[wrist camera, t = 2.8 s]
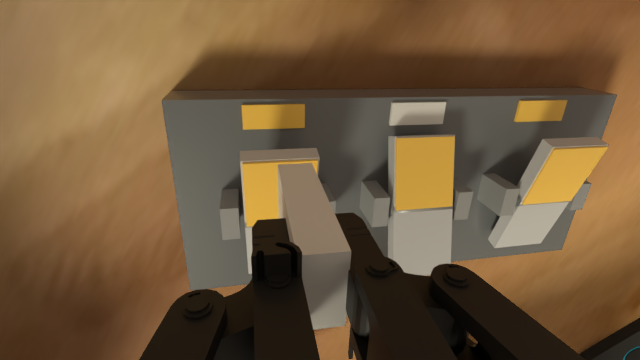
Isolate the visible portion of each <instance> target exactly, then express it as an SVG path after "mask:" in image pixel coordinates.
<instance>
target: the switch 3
mask: <svg viewBox="0 0 640 360" xmlns="http://www.w3.org/2000/svg"><path fill="white" fill-rule="evenodd" d="M608 145H609V144H607V143H606V142H604V141H603V140H601V139H600V138H598V137H580V138H554V139H542V141H541V143H540V145H539V147H538V148H537V150H536V152H535V154H534V156H533V158H532V159H531V161H530V163H529V165H528V167H527V169H526V170H525V172H524V174H523V176H522V178H521V180H520V181H519V183H518V185H517V187H518V188H520V191H519V194H518V198H517V202H516V205H515V209H514V212H513V215H510V216H500V218H499V220H498V222H497V223H496V225H495V227H494V229H493V231H492V233H491V234H490V236H489V238H488V240H489V241H490V243H491V244H492V245H493V247H494V248H501V247H511V246H520V245H530V244H539V243H541V242H542V241H543V239H544V238H545V236H546V235H547V233H548V232H549V231H550V229H551V228H552V226H553V225H554V223H555V222H556V220H557V219H558V218H559V216H560V215H561V213H562V212H563V210H564V209H565V207H566V206H567V204H568V203H569V202H570V201H571V200H572V199H573V197H574V196H575V194H576V193H577V192H578V190H579V189H580V187H581V186H582V184H583V183H584V181H585V180H586V179H587V177H588V176H589V174H590V173H591V171H592V170H593V168H594V167H595V166H596V164H597V163H598V161H599V160H600V158H601V157H602V155H603V154H604V153H605V151H606V150H607V148H608V147H607V146H608Z"/></svg>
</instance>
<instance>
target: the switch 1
mask: <svg viewBox="0 0 640 360" xmlns="http://www.w3.org/2000/svg"><path fill="white" fill-rule="evenodd" d="M319 160H320V157H319V154H318V151H317V148H300V149H275V150H250V151H240V168H241V181H242V194H243V207H244V220H245V234H246V247H247V260H248V273H249V274H252V266H251V255H252V227H253V226H254V224H255V223H256V221H257V220H265V219H279V210H278V165H277V164H300V163H312V164H313V167H314V169H315V171H316V173H317V175H318V170H319Z"/></svg>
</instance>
